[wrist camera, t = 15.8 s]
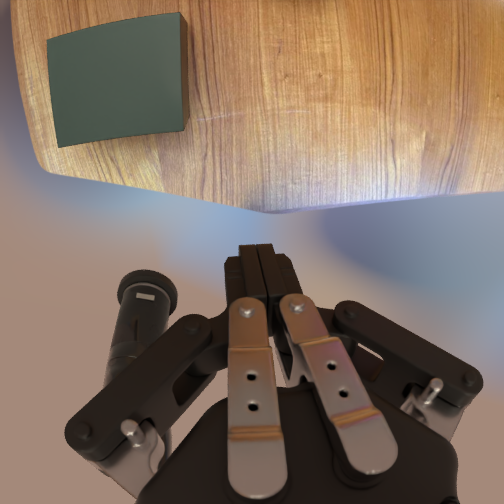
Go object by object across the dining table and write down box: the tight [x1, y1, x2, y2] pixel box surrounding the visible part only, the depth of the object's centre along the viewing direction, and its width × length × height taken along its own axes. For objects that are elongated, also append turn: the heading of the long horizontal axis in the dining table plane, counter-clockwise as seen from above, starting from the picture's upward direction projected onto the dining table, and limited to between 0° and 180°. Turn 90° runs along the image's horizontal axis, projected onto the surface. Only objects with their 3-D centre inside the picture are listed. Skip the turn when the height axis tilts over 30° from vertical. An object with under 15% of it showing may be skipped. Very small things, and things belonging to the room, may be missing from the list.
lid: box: [47, 12, 184, 148], centre depth 28 cm, size 16×14×1 cm
